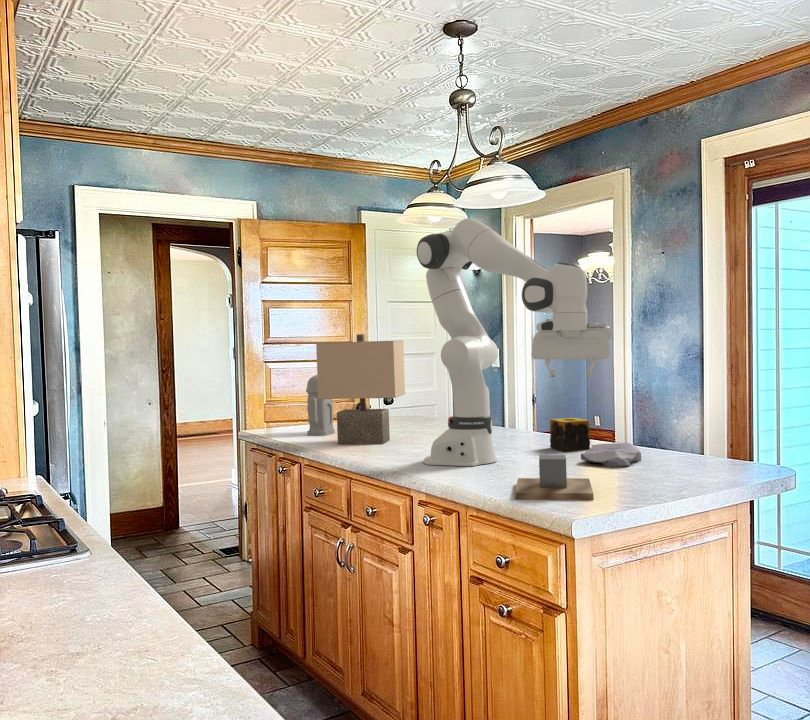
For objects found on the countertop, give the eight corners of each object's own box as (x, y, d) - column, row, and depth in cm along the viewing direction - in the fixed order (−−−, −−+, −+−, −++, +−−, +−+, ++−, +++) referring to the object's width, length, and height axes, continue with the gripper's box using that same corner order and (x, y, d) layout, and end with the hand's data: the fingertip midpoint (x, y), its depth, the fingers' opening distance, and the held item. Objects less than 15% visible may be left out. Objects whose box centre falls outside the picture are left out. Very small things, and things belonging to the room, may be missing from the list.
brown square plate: (515, 499, 175) (514, 473, 175) (518, 484, 193) (517, 461, 192) (593, 499, 172) (592, 474, 171) (589, 484, 189) (588, 460, 189)
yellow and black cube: (563, 452, 242) (562, 422, 242) (549, 448, 252) (548, 419, 252) (591, 450, 245) (590, 420, 245) (575, 446, 255) (575, 417, 255)
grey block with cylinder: (539, 487, 180) (539, 459, 179) (540, 480, 189) (539, 453, 189) (566, 488, 178) (566, 459, 178) (565, 480, 188) (565, 453, 187)
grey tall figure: (315, 431, 319) (313, 374, 319) (338, 431, 317) (335, 373, 316) (302, 436, 305) (300, 375, 304) (326, 436, 303) (324, 375, 302)
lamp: (319, 445, 276) (315, 335, 275) (334, 439, 293) (330, 335, 292) (396, 445, 270) (393, 332, 269) (406, 438, 288) (403, 333, 286)
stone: (626, 469, 209) (626, 451, 209) (576, 465, 218) (576, 448, 218) (647, 459, 226) (647, 442, 226) (600, 456, 234) (599, 440, 234)
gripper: (610, 323, 195) (610, 375, 196) (531, 324, 199) (532, 376, 200) (612, 323, 189) (612, 377, 189) (530, 324, 193) (531, 377, 193)
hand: (570, 376), depth 195 cm, fingers open, 8 cm apart
